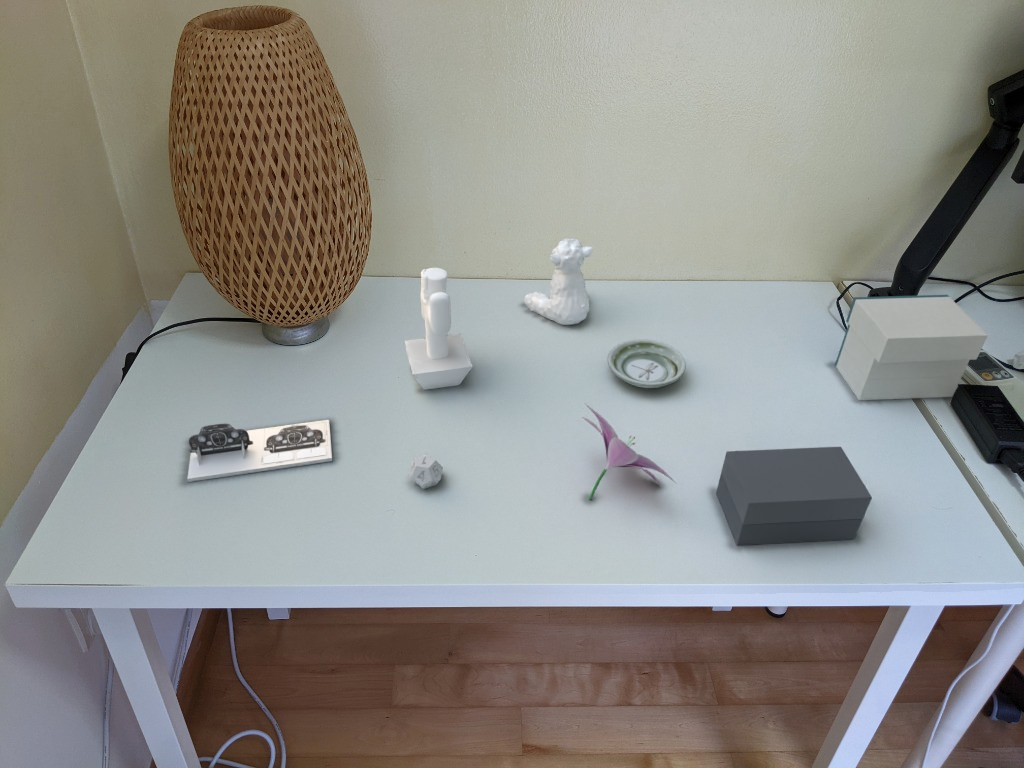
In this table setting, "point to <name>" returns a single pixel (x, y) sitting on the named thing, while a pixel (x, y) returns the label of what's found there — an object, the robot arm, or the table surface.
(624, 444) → the lily
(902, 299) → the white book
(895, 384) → the white rectangular block
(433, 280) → the figurine
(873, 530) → the table surface
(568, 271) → the sitting furry creature
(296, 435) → the car cutout
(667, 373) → the saucer
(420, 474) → the game die
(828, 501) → the grey box
